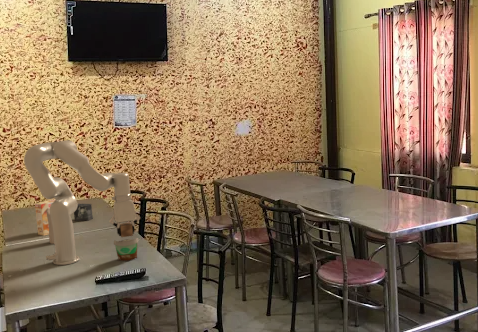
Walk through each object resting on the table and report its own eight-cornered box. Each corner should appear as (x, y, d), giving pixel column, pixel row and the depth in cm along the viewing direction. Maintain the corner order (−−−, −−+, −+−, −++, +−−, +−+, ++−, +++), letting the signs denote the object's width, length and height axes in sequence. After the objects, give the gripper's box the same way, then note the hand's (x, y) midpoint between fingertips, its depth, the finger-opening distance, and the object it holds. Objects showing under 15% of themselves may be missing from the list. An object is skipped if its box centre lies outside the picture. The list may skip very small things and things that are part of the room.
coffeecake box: (44, 236, 321) (40, 204, 319) (37, 234, 326) (34, 203, 323) (65, 230, 333) (62, 199, 331) (58, 229, 337) (55, 198, 335)
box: (74, 220, 359) (72, 205, 358) (79, 218, 365) (78, 203, 364) (87, 221, 356) (86, 205, 355) (93, 218, 362) (91, 203, 361)
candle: (63, 245, 297) (60, 210, 295) (47, 243, 304) (43, 208, 302) (73, 242, 303) (70, 207, 301) (57, 239, 311) (53, 206, 308)
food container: (115, 263, 260) (113, 243, 259) (114, 259, 266) (113, 239, 265) (141, 259, 263) (139, 239, 262) (140, 256, 269) (138, 236, 268)
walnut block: (121, 237, 260) (120, 226, 259) (119, 234, 265) (118, 224, 264) (132, 235, 262) (132, 224, 261) (130, 233, 267) (129, 222, 266)
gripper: (106, 201, 254) (109, 238, 256) (142, 197, 260) (145, 233, 263) (103, 199, 261) (107, 235, 263) (138, 194, 267) (141, 230, 270)
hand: (126, 234), depth 263 cm, fingers closed on walnut block, 5 cm apart
